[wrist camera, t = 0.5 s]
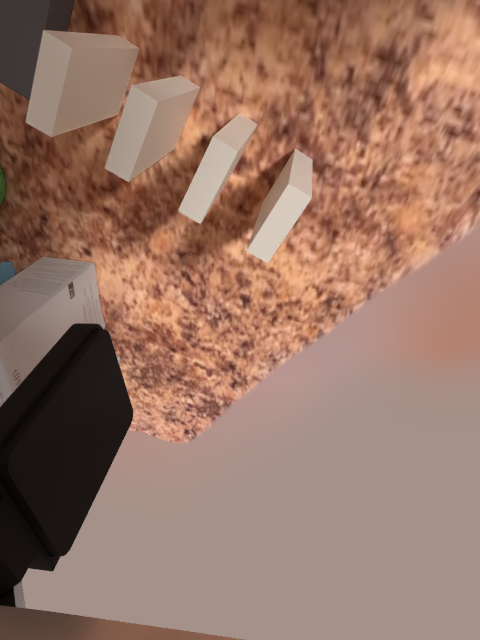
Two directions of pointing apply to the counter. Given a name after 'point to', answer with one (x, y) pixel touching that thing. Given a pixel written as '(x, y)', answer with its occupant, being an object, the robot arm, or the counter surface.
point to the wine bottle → (2, 186)
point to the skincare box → (42, 313)
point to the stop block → (27, 37)
